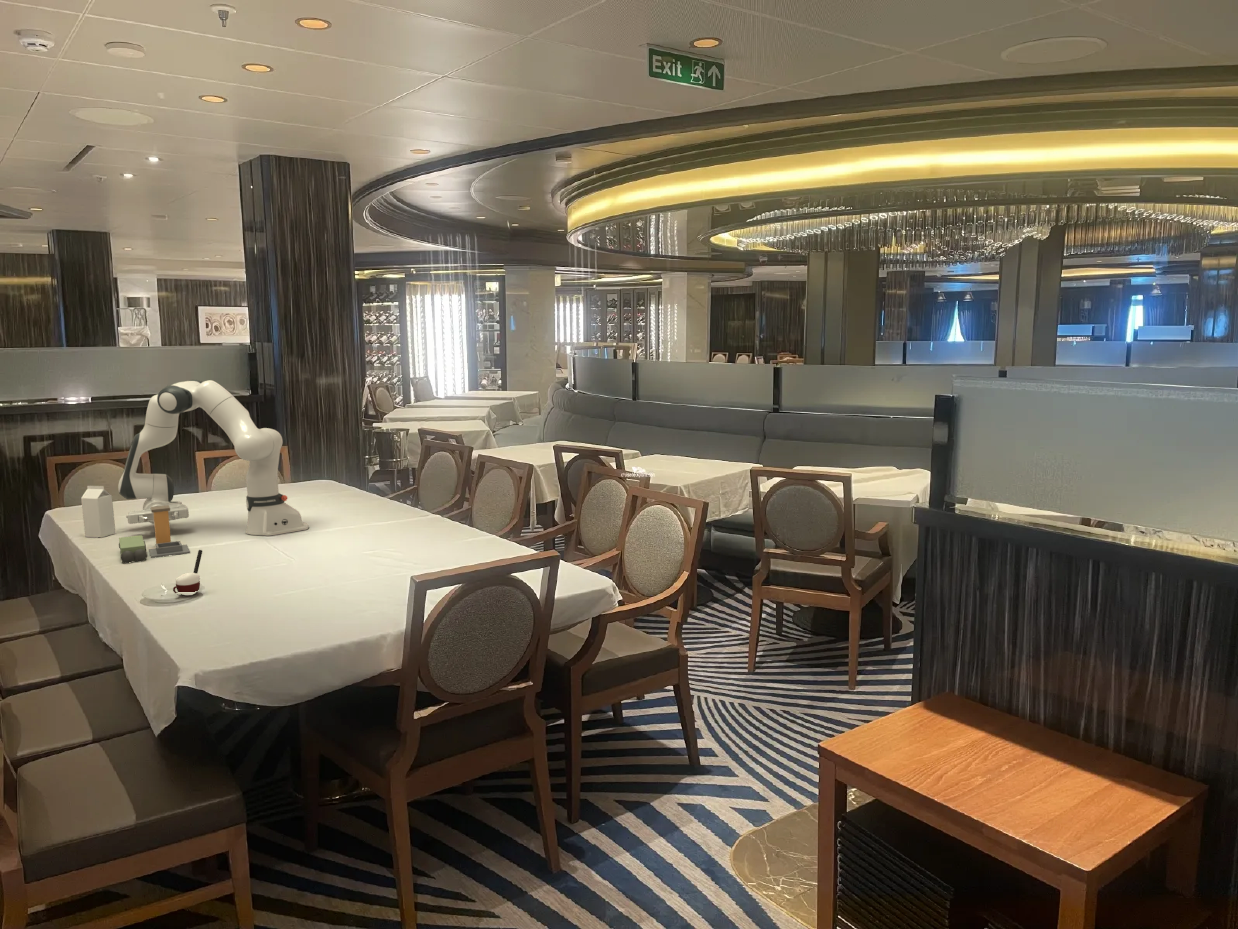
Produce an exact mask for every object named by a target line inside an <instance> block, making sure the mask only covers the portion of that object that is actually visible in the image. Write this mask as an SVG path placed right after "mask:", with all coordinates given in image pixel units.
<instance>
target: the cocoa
mask: <svg viewBox="0 0 1238 929" xmlns="http://www.w3.org/2000/svg"><path fill="white" fill-rule="evenodd" d="M202 555H203V549H198V550H197V555H196V560H195V565H194V568H193V572H186V573H183V574H181V575H179V576H178V577H176V578H175V586H174V587H173V588H172V592H173V593H174V594H176V593H178V592H195V591H198V590H199V591H200V587H201V581H200V580H201V578H200V574H198V573H199V569H200V565H201V560H202ZM176 590H177V591H176ZM199 591H198V592H199Z"/></svg>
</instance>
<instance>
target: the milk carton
mask: <svg viewBox="0 0 1238 929" xmlns="http://www.w3.org/2000/svg"><path fill="white" fill-rule="evenodd" d="M86 488H87V489H86V490H85V491H84V493H83V495H82V496H81V498H80V499H81V500H80V501H81V509H82V520H83V527H84V528H83V530H84V536H85V538H98V537H102V538H104V537H107V536H112V535H114V534H116V533H117V532H116V525H115V524H116V522H115V514H114V504H113V495H112V494H111V493H110V492H109V491H108V490H106V489H105V486H104V485H87V486H86Z"/></svg>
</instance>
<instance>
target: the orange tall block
mask: <svg viewBox="0 0 1238 929" xmlns="http://www.w3.org/2000/svg"><path fill="white" fill-rule="evenodd" d="M168 511H170V507H169V505H167V506H157V507H151V512H152V513H153V516H154V524H153V525H154V527H153V528H154V536H155V538H154V539H155V545H156V544H159V543H167V542H172V540H171V539H172V538H171V527H170V521H169V515H168Z"/></svg>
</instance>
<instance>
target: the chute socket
mask: <svg viewBox="0 0 1238 929" xmlns="http://www.w3.org/2000/svg"><path fill="white" fill-rule="evenodd" d="M148 553H149V556H151V557H150V559H156V558H163V556H164V557H169V555H172V556H178V555H187V554H191V550H190V548H189V546H188V544H182V542H181V540H178V541H171V542H167V543H159V544H156V543H155V547H154V548H149V549H148ZM155 557H156V558H155Z"/></svg>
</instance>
